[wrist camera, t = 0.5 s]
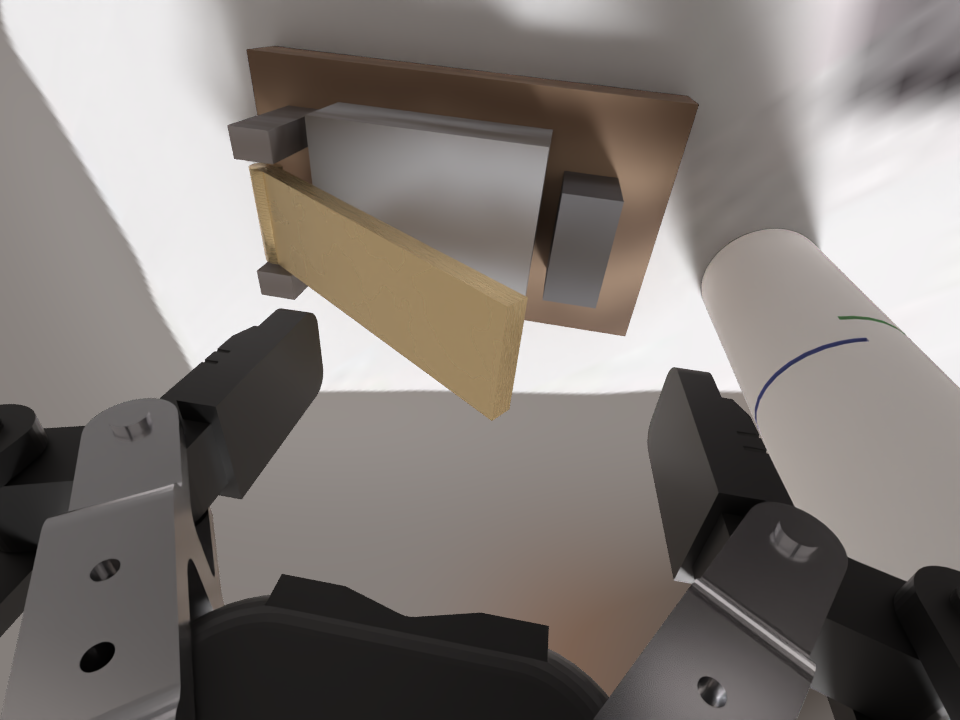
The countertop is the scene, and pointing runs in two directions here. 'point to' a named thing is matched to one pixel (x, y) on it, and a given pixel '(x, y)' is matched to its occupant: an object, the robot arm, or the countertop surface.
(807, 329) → the cylindrical container
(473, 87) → the stand
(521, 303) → the plate
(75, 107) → the countertop surface
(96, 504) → the robot arm
